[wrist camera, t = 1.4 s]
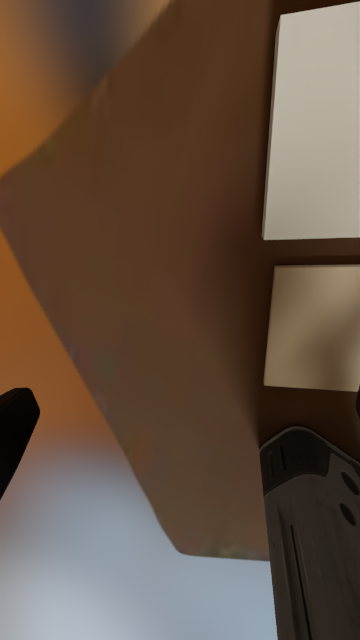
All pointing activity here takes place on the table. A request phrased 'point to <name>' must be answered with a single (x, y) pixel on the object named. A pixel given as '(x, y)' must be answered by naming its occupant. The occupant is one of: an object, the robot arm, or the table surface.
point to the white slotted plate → (315, 127)
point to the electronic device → (312, 535)
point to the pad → (314, 328)
